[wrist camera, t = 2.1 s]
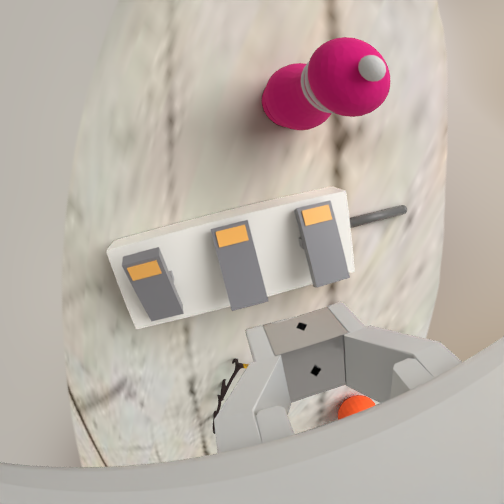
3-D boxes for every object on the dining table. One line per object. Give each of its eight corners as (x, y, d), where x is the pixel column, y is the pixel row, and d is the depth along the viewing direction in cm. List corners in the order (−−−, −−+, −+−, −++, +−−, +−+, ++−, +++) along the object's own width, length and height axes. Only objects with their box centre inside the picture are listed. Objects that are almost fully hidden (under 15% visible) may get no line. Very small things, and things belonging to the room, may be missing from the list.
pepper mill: (271, 140, 36) (352, 137, 17) (247, 84, 33) (304, 23, 14) (325, 120, 36) (437, 108, 17) (303, 65, 33) (398, 9, 15)
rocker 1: (122, 256, 30) (121, 266, 29) (159, 246, 30) (159, 256, 29) (151, 312, 35) (151, 322, 34) (182, 304, 36) (183, 314, 34)
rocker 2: (211, 230, 34) (210, 228, 32) (246, 221, 34) (247, 219, 32) (231, 308, 34) (231, 311, 32) (266, 299, 34) (268, 301, 32)
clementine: (377, 385, 52) (395, 410, 45) (363, 412, 54) (379, 438, 47) (339, 388, 50) (356, 416, 43) (326, 416, 52) (340, 444, 45)
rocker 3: (293, 209, 34) (297, 207, 33) (326, 202, 35) (330, 200, 33) (313, 286, 34) (317, 287, 33) (345, 276, 35) (350, 277, 33)
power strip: (114, 240, 36) (103, 254, 31) (400, 172, 40) (423, 177, 35) (140, 314, 40) (135, 335, 35) (405, 242, 43) (426, 253, 38)
